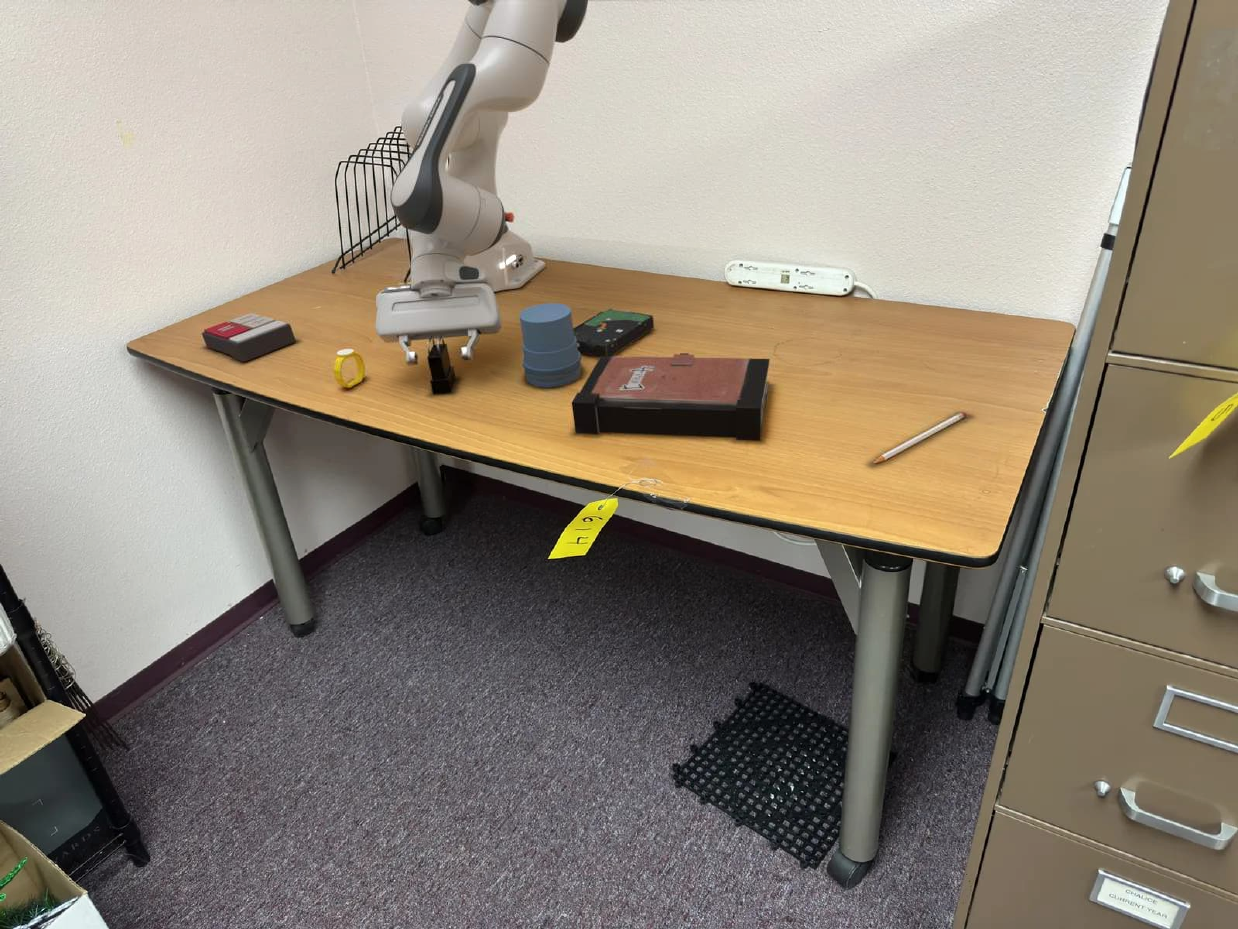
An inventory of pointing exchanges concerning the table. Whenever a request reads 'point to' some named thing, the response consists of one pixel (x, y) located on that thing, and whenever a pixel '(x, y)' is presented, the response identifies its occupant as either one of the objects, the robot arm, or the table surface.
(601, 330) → the disk drive
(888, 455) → the pencil
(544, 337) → the cup stack
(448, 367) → the clip
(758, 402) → the book
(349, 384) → the watch
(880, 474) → the table surface
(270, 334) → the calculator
